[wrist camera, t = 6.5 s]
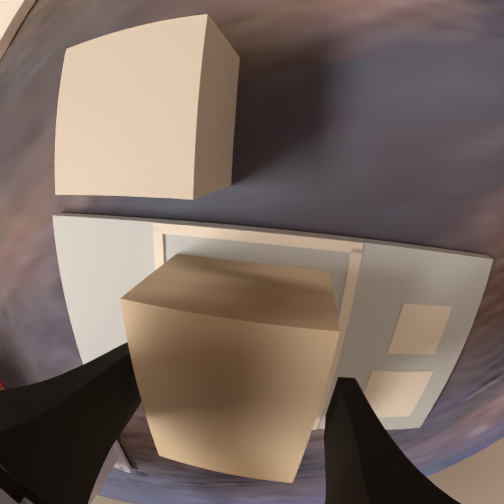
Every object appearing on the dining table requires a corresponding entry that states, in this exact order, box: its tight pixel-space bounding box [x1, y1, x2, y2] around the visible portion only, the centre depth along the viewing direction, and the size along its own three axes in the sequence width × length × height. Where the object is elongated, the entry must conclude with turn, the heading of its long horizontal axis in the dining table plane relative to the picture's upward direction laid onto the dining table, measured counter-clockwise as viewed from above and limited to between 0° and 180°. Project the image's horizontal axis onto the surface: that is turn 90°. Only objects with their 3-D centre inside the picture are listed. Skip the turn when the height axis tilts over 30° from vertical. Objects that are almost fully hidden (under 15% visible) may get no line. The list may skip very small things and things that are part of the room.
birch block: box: [120, 254, 340, 483], centre depth 10 cm, size 6×8×4 cm
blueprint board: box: [53, 213, 493, 430], centre depth 12 cm, size 20×10×1 cm, turn 87°
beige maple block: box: [55, 14, 240, 200], centre depth 9 cm, size 5×5×4 cm
